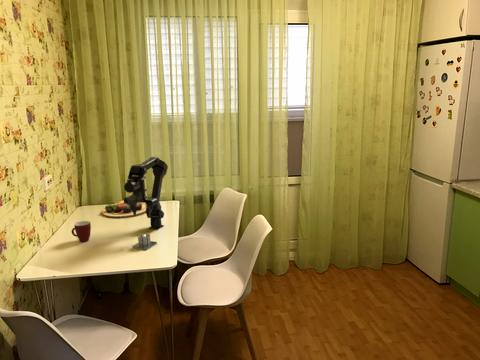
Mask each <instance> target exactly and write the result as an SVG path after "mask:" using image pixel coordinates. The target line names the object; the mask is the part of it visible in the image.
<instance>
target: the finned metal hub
mask: <svg viewBox="0 0 480 360" xmlns="http://www.w3.org/2000/svg"><path fill="white" fill-rule="evenodd" d="M142 234H143V235H142V237H146V234H147V233H142ZM150 241H151V244H150V245H147V246H139V244H138V242H136V243H134V244H132V246H131V248H132V249H137V250H138V249H139V250H144V251H148V250H149V249H151V248H154V246H156V245H158V242H157V241H153V240H150Z"/></svg>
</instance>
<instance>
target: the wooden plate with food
mask: <svg viewBox="0 0 480 360" xmlns="http://www.w3.org/2000/svg"><path fill="white" fill-rule="evenodd" d="M145 214H146V204H145V203H142V202H139V203H137V205H136V215H134V214H133V212H132V209H131V208H130V206H129V205H126V203H124V199H122V200H121V201H119V202H117V203H114V204H111V203H110V204H107V205H105V207H104V208H103V209H102V210H101V216H103V217H105V218H108V219H109V218H110V219H129V218H133V217H138V216H141V215H145Z"/></svg>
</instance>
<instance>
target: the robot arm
mask: <svg viewBox="0 0 480 360" xmlns="http://www.w3.org/2000/svg"><path fill="white" fill-rule="evenodd" d="M168 168H169V166H168V164H167V163H166V161H163V160H162V159H160V158H159V157H157V156H150V157H149V158H148V159H147V160H145V161H143V162H142V163H139V164H136V163H135V164H133V165H132V166H130V169H129V172H128V175H127V180H126V182H125V183H124V186H123V188H124V190H125V192H126V193H128V194H131V193H132V194H131V195H129V196H125V197H124V199H123V200H124V203H126V205H129V206H130V208H131V209H132V212H133V214H134V215H136V205H137V203H139V202H142V203H145V204H146V213H145V215H146V218H147V219H149V220H150V222H149V223H150V226H148V228H149V229H153V230H159V229H162V228H163V227H164V226H165V225H164V224H162V223H163V222H162V219H163V218H165V217H164V216H165V212H164V210H162V204H161V203H160V199H161V192H162V184H163V178H164V177H165V176H166V175H167V172H168ZM150 169H151V170H152V174H153V176H154V177H153V184H152V190H151V196H150V198H148V196H147V195H146V192H147V190H148V189H147V188H146V184H145V183H146V182H145V179H146V178H147V177H146V176H145V175H146V174H147V171H149V170H150Z"/></svg>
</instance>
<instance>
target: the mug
mask: <svg viewBox="0 0 480 360" xmlns="http://www.w3.org/2000/svg"><path fill="white" fill-rule="evenodd" d="M91 230H92V226H91V221H88V220H82V221H81V220H80V221H78V222H75V223H74V227H73V228H72V229H71V234H72V236H74V237H76V238H77V239H78V240H79V242H80V243H85V242H88V241H89V239H90V237H91Z"/></svg>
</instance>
